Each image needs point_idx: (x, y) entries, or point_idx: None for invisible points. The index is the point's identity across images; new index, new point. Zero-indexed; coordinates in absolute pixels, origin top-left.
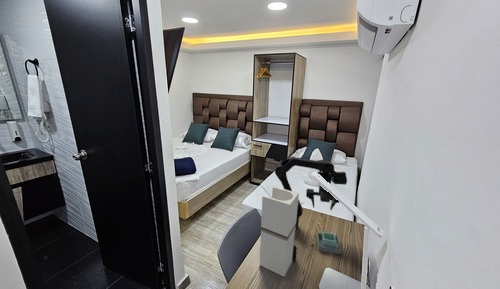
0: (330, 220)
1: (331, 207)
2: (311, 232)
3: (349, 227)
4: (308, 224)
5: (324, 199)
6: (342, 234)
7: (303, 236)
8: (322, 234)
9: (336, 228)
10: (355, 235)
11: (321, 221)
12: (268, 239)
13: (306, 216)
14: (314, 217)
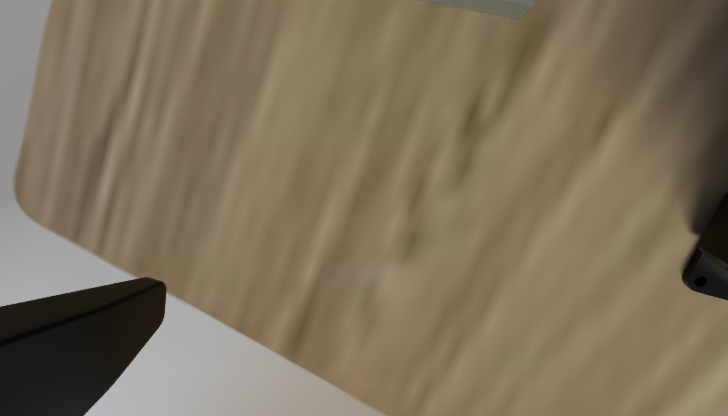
0: (253, 312)
1: (69, 312)
2: (556, 100)
3: (100, 200)
4: (532, 254)
5: None
6: (195, 82)
7: (716, 5)
8: None
9: (229, 183)
10: (73, 73)
11: (353, 300)
12: None
13: (498, 392)
14: (409, 369)
